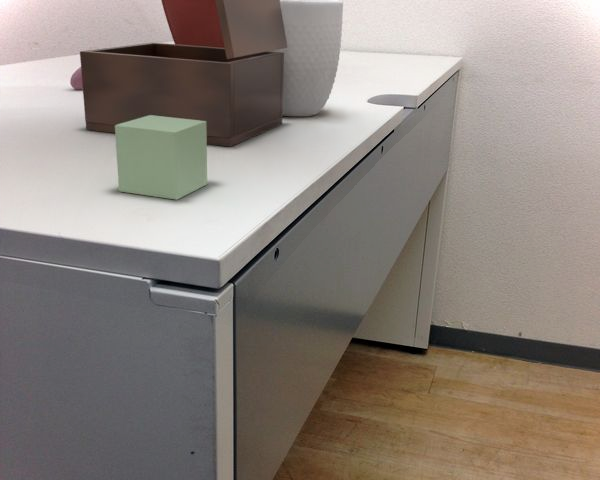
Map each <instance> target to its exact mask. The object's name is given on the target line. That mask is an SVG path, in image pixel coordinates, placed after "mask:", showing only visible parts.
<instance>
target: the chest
mask: <svg viewBox="0 0 600 480" xmlns="http://www.w3.org/2000/svg"><path fill="white" fill-rule="evenodd" d="M79 58H80V67H81V72H82V85H83V89H82V95H83V107H84V118H85V119H84V120H85V130H87V131H95V132H102V133H110V134H112V133H113V134H115V125H117V124H121V123H124V122H128V121H131V120H135V119H138V118H142V117H145V116H149V115H154V116H163V117H172V118H182V119H191V120H200V121H206V131H207V145H212V146H220V147H229V148H230V147H233V146H235V145H238V144H240V143H242V142H245V141H247V140H249V139H251V138H253V137H256V136H258V135H260V134H262V133H264V132H267V131H269V130H271V129H274V128H276V127H278V126H280V125H283V116H282V110H283V74H284V52H271V51H267V52H262V53H257V54H252V55H247V56H242V57H237V58H231V59H227V57H226V52H225V48H218V47H205V46H191V45H178V44H175V43H163V42H145V43H136V44H128V45H121V46H120V45H119V46H112V47H102V48H96V49H87V50H81V51H79Z"/></svg>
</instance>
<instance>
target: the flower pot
mask: <svg viewBox="0 0 600 480" xmlns="http://www.w3.org/2000/svg"><path fill="white" fill-rule="evenodd" d="M161 5H162V8H163V12H164V15H165V19H166V22H167V25H168V28H169V32H170V35H171V38H172V41H173V44H178V45H191V46H205V47H218V48H225V47H224V42H223V37H222V32H221V27H220V22H219V17H218V11H217V6H216V1H215V0H161Z"/></svg>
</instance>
